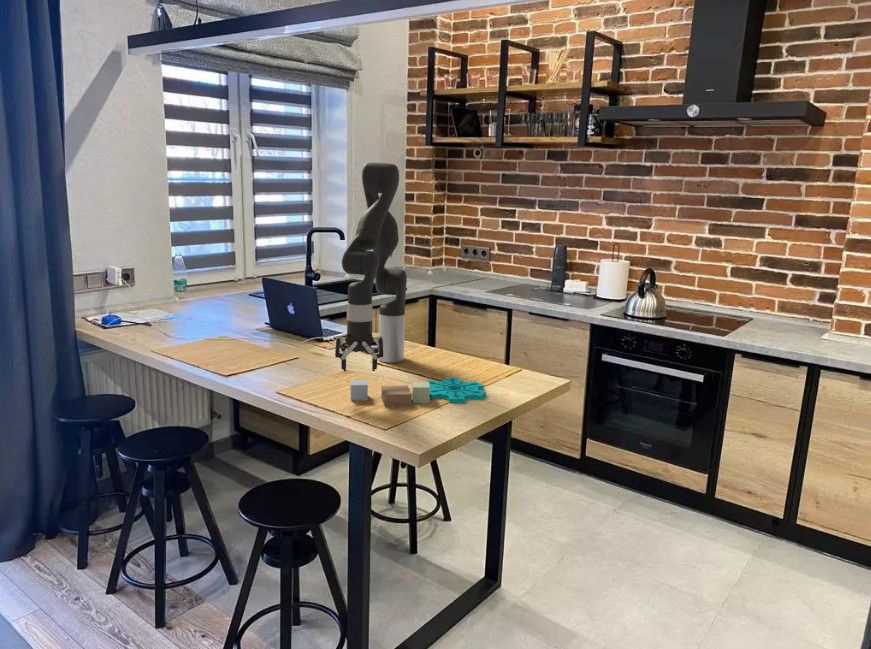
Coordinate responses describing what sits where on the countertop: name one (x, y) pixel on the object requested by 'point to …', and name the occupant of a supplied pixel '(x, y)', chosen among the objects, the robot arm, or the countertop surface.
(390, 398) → the walnut base
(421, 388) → the sage block
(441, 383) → the decorative ornament
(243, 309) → the countertop surface
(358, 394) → the slate cube
